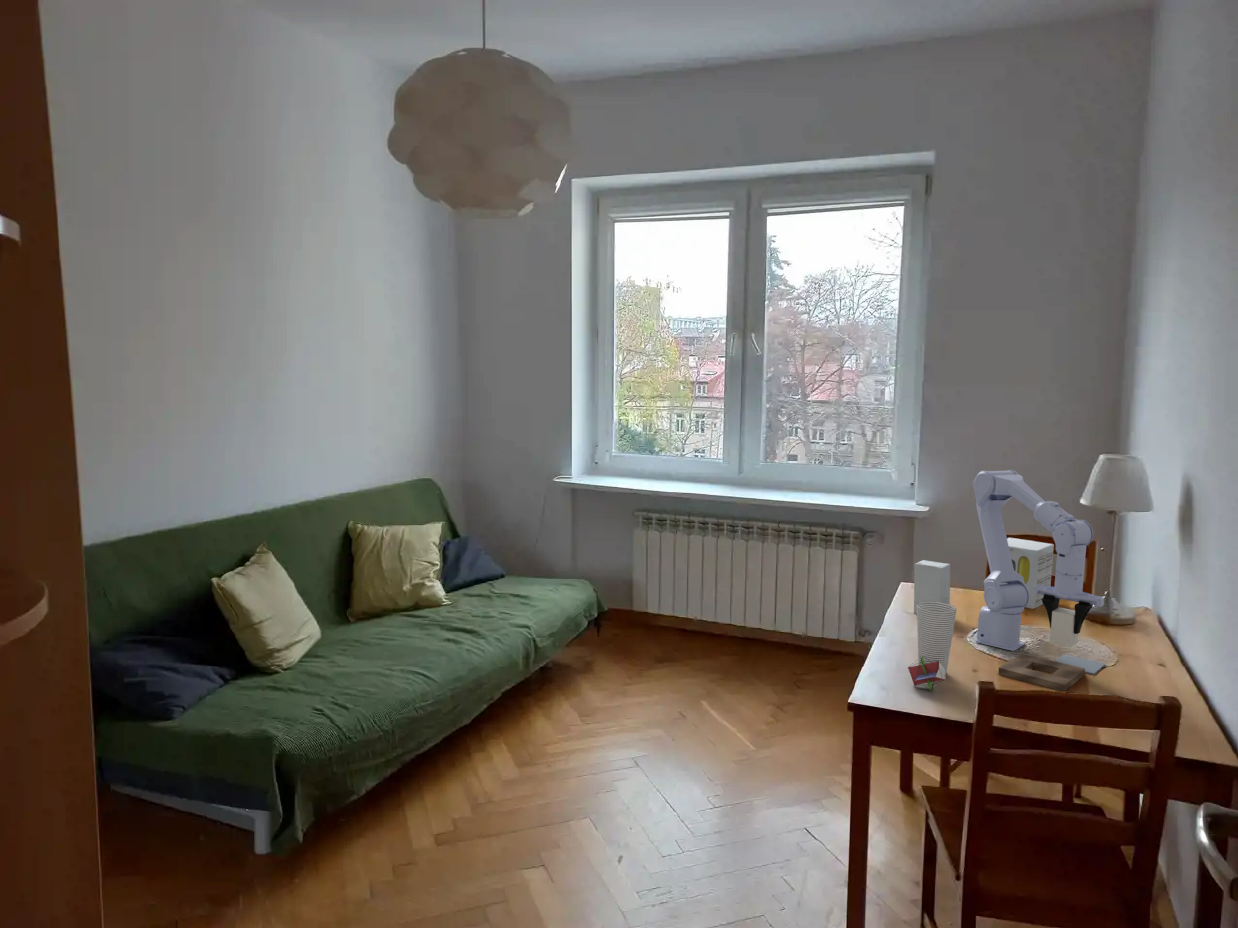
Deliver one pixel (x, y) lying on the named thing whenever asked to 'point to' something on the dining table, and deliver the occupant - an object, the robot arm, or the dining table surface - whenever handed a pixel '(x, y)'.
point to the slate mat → (1081, 663)
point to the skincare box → (931, 582)
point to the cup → (935, 631)
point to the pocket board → (1058, 680)
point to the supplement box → (1032, 565)
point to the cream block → (1063, 627)
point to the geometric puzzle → (927, 673)
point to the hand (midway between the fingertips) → (1064, 630)
